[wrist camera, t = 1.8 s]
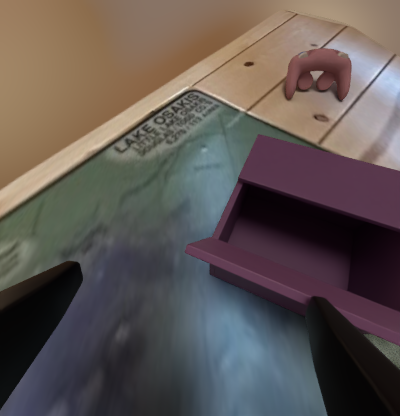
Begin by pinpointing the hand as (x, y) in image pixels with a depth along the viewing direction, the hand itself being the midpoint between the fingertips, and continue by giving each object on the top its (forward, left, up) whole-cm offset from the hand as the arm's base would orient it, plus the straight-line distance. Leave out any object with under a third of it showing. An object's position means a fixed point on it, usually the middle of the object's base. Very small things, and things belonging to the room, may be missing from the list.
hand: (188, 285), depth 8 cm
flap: (-3, -5, -2) cm, 7 cm away
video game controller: (+17, -36, -14) cm, 42 cm away
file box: (0, -11, -14) cm, 18 cm away
